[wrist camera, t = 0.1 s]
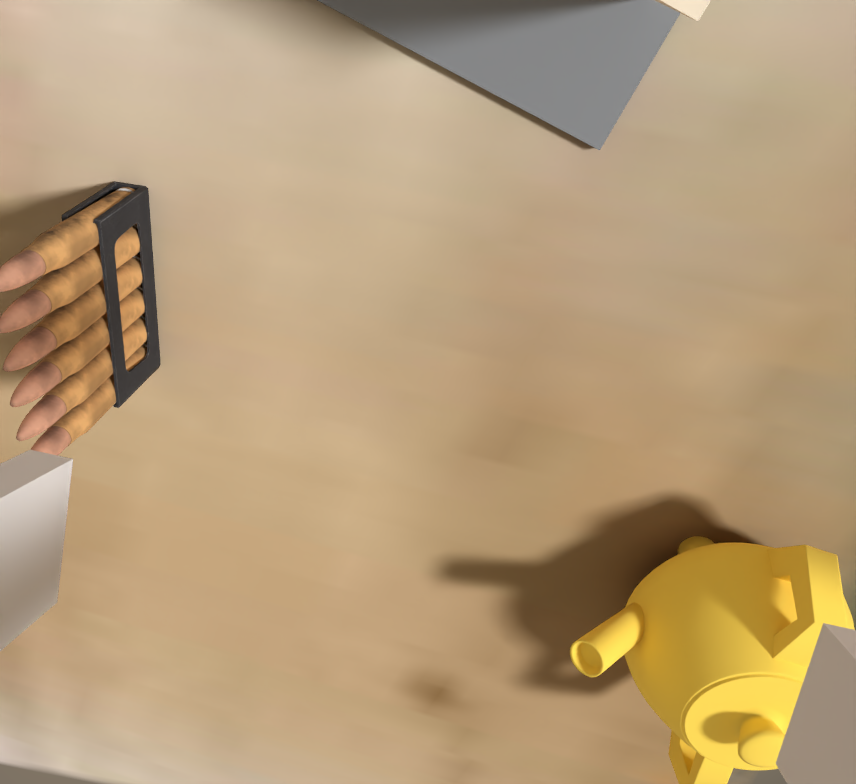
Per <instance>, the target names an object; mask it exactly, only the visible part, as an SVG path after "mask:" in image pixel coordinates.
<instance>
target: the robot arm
mask: <svg viewBox="0 0 856 784" xmlns="http://www.w3.org/2000/svg"><path fill="white" fill-rule="evenodd" d="M72 463H73V459H71V458H66V457H62V456H57V455H53V454H48V453H43V452H39V451H34V450H29V451H26V452H24V453H22V454H20V455H18V456H16V457H14V458H12V459H10V460H7V461H5V462H3V463H1V464H0V651H1V650H2V649H3V648H5V647H6V646H7V645H8V644H9V643H10V642H12V641H13V640H14V639H15V638H16V637H17V636H19V635H20V634H21V633H22V632H23V631H24V630H26V629H27V628H28V627H29V626H30V625H31V624H33V623H34V622H35V621H36V620H37V619H38V618H39V617H41V616H42V615H43V614H44V613H45V612H46V611H48V610H49V609H50V608H51V607H52V606H53V605H55V604H56V603H57V599H58V590H59V581H60V572H61V563H62V554H63V545H64V536H65V527H66V517H67V508H68V499H69V490H70V481H71V472H72ZM776 765H777V767H778V768H779V770H780V772H781V774H782V776H783V777H784V779H785V781H786V783H787V784H856V630H853V629H848V628H844V627H839V626H835V625H830V624H825V623H823V625H822V628H821V631H820V634H819V637H818V640H817V643H816V646H815V649H814V652H813V655H812V658H811V661H810V664H809V667H808V669H807V672H806V675H805V678H804V681H803V684H802V687H801V690H800V693H799V696H798V699H797V702H796V705H795V708H794V711H793V714H792V716H791V719H790V722H789V725H788V728H787V731H786V734H785V737H784V740H783V743H782V746H781V749H780V752H779V755H778V758H777V761H776Z"/></svg>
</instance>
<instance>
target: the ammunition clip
mask: <svg viewBox="0 0 856 784" xmlns="http://www.w3.org/2000/svg"><path fill="white" fill-rule="evenodd" d="M41 276H42V277H41ZM38 277H41V279H40V280H39V281H38V282H37V284H35V285H34V286H33V287H31V288H30V289H29V290H28V291H27V292H26V293H25V294H23V295H22V296H20V297H19V298H18V299H16V300H15V301H14V302H13V303H12V304H11V305H10V306H9V307H8V308H7V309H6V311H5V312H4V313H3V314H2V316H1V317H0V333H7V332H12V331H16V330H19V329H21V328H24V327H26V326H28V325H30V324H32V323H34V322H36V321H38V320H39V319H41V318H42V317H44V316H45V315H46V316H45V317H44V318H43V320H42V321H41V322H40V323H39V324H37V325H36V326H35V327H34V328H33V329H32V330H31V331H30V332H29V333H28V334H26V335H25V336H24V337H23V338H22V339H21V340H20V341H19V342H18V343H17V344H16V345H15V346H14V348H13V349H12V350H11V351H10V353H9V354H8V356H7V358H6V360H5V362H4V366H3V369H4V370H5V371H15V370H19V369H21V368H24V367H27V366H29V365H31V364H33V363H35V362H37V361H38V360H40V359H42V358H43V357H44V358H43V359H42V360H41V361H40V362H39V363H38V364H37V366H36V367H34V368H33V369H32V370H31V371H30V372H29V373H28V374H27V375H26V376H25V377H24V379H23V380H22V381H21V382H20V383H19V385H18V386H17V387H16V389H15V391H14V393H13V394H12V397H11V400H10V405H11V406H12V407H18V406H22V405H25V404H28V403H30V402H32V401H34V400H36V399H38V398H40V397H41V396H43V395H44V394H45V395H44V396H43V397H42V399H41V400H40V401H39V402H38V403H37V404H36V405H35V406H34V407H33V408H32V409H31V410H30V412H29V413H28V414H27V415H26V417H25V418H24V420H23V421H22V423H21V425H20V427H19V429H18V432H17V436H16V438H17V440H19V441H22V440H26V439H29V438H32V437H34V436H36V435H38V434H40V433H42V432H43V431H45V430H46V429H47V431H46V432H45V433H44V434H43V435H42V436H41V437H40V438H39V439H38V440H37V441H36V443H35V444H34V445H33V447H32V448H31V450H34V451H39V452H43V453H48V454H53V455H57V456H58V455H59V454H60V453H61V452H62V451H63V450H64V449H65V448H66V447H67V446H69V445H70V444H71V443H72V442H73V441H74V440H75V439H76V438H78V437H79V436H81V435H83V434H84V433H86V432H87V431H88V430H89V429H90V428H91V427H92V426H93V425H94V424H95V423H96V422H97V421H98V420H99V419H100V418H101V417H102V416H103V415H104V414H105V413H106V412H107V411H108V410H109V409H110V408H111V407H112V406H114V407H117V408H119V407H120V406H121V405H122V404H123V403H124V402H125V401H126V400H127V399H128V398H129V397H130V396H131V395H132V394H133V393H134V392H135V391H136V390H137V389H138V388H139V387H140V386H141V385H142V384H143V383H144V382H145V381H146V380H147V379H148V378H149V377H150V376H151V375H152V374H153V373H154V372H155V371H156V370H157V369H158V368H159V366H160V350H159V336H158V322H157V308H156V293H155V279H154V265H153V251H152V236H151V222H150V208H149V194H148V188H147V187H146V186H140V185H134V184H127V183H121V182H113V183H111V184H110V185H108V186H107V187H105V188H103V189H102V190H100V191H99V192H97V193H96V194H94V195H93V196H91V197H89V198H88V199H86V200H85V201H83V202H82V203H80V204H79V205H77V206H75V207H74V208H72V209H71V210H69V211H68V212H66V213H64V214H63V215H62V222H61V223H59V224H58V225H56V226H54V227H52V228H51V229H49V230H47V231H46V232H44V233H42V234H41V235H39V236H38V237H37V238H36V239H35V240H34V241H33V243H32V244H31V245H29V246H28V247H26V248H25V249H23V250H22V251H21V252H20V253H19V254H17V255H15V256H14V257H12V258H11V259H9V260H8V261H7V262H6V263H5V264H3V265H2V266H1V267H0V292H4V291H9V290H13V289H16V288H18V287H21V286H23V285H25V284H28V283H30V282H32V281H34V280H35V279H37V278H38ZM45 356H46V357H45ZM115 402H116V403H115ZM114 403H115V404H114ZM113 404H114V405H113Z"/></svg>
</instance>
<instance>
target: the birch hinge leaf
mask: <svg viewBox="0 0 856 784" xmlns="http://www.w3.org/2000/svg"><path fill="white" fill-rule="evenodd" d="M655 1H657V2H659V3H661V4H663V5H665V6H667V7H669V8H671V9H673V10H675V11H677V12H680V13H682V14H684V15H686V16H688V17H690V18H692V19H694V20H696V21H699V19H700V18H701V16H702V14H703V13H704V11H705V9H706V8H707V6H708V4H709V3H710V1H711V0H655Z"/></svg>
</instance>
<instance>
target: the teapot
mask: <svg viewBox="0 0 856 784" xmlns="http://www.w3.org/2000/svg"><path fill="white" fill-rule="evenodd" d="M823 623H825V624H830V625H835V626H839V627H844V628H848V629H853V630H855V629H854V624H853V619H852V615H851V613H850V610H849V608H848V605H847V603H846V600H845V598H844V596H843V591H842V584H841V577H840V571H839V564H838V557H837V555H835V554H832V553H829V552H826V551H823V550H820V549H817V548H814V547H811V546H807V545H799V546H791V547H782V548H773V547H768V546H763V545H758V544H750V543H716V544H714V543H713V541H711V540H710V539H708V538H706V537H702V536H694V537H690V538H687V539H686V540H684V541H683V542H682V543H681V544H680V545H679V548H678V555H676V556H674V557H672V558H670V559H669V560H667V561H665V562H664V563H662V564H661V565H660V566H658V567H657V568H655V569H654V570H653V571H652V572H650V573H649V574H648V575H647V576H646V577H645V578H644V579H643V580H642V581H641V582H640V583H639V584H638V586H637V587H636V588H635V589H634V591H633V592H632V594H631V596H630V597H629V599H628V602H627V604H626V607H625V608H624V609H622V610H621V611H619V612H618V613H616V614H615V615H614V616H612V617H611V618H609V619H608V620H606V621H605V622H603V623H602V624H600V625H599V626H597V627H596V628H594V629H593V630H591V631H590V632H588V633H587V634H585V635H584V636H582V637H581V638H579V639H578V640H576V641H575V642H574V643H573V644H572V645H571V647H570V656H571V660H572V662H573V664H574V665H575V667H576V668H577V669H578V670H579V671H580V672H581V673H582V674H584V675H586V676H588V677H597V676H599V675H600V674H602V673H603V672H604V671H605V670H606V669H607V668H609V667H610V666H611V665H612V664H613V663H615V662H616V661H617V660H618V659H619V658H621V657H622V656H623V655H624V656H625V658H626V661H627V664H628V667H629V670H630V672H631V675H632V677H633V679H634V681H635V683H636V685H637V687H638V689H639V690H640V692H641V694H642V695H643V697H644V698H645V700H646V701H647V703H648V704H649V705H650V707H651V708H652V709H653V710H654V711H655V713H656V714H657V715H658V716H659V717H660V719H661V720H662V721H663V722H664V723H665V724H666V725H667V726H668V727H669V728H670V729H671V730H672V732H671V740H670V747H669V757H670V760H671V763H672V765H673V768H674V771H675V774H676V777H677V779H678V782H679V784H727V782H728V780H729V778H730V775H731V773H732V770H733V768H737V769H744V770H771V769H777V768H778V767H777V765H776V761H777V758H778V755H779V752H780V749H781V746H782V743H783V740H784V737H785V734H786V731H787V728H788V725H789V722H790V719H791V716H792V714H793V711H794V708H795V705H796V702H797V699H798V696H799V693H800V690H801V687H802V684H803V681H804V678H805V675H806V672H807V669H808V667H809V664H810V661H811V658H812V655H813V652H814V649H815V646H816V643H817V640H818V637H819V634H820V631H821V628H822V625H823Z"/></svg>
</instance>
